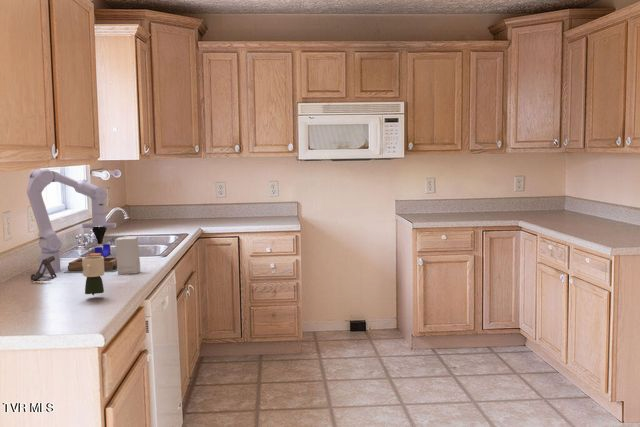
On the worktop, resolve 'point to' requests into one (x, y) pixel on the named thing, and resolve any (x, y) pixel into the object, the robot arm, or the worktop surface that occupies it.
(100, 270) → the character mug
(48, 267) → the portable electronic device stand
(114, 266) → the brown wooden tray
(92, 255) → the part block
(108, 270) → the dock mat
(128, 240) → the skincare box
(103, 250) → the cable clip
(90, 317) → the worktop surface
